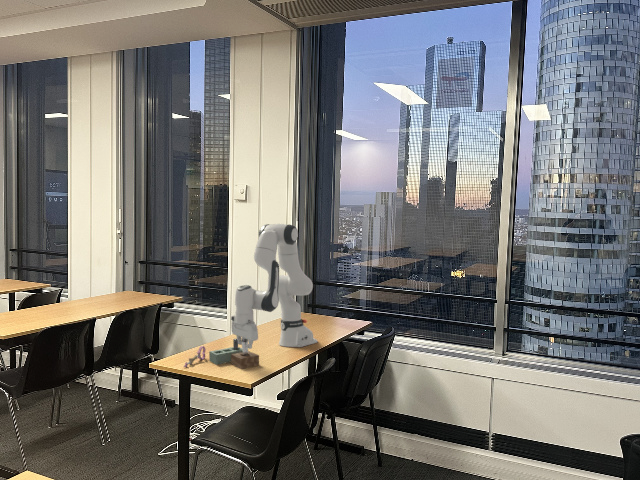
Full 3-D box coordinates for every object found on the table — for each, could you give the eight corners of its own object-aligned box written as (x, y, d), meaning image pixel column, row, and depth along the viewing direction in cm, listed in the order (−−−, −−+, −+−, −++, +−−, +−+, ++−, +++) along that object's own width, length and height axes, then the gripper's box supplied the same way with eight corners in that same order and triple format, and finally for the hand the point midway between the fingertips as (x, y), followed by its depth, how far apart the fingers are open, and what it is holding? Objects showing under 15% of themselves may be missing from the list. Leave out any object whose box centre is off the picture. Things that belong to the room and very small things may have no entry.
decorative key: (183, 374, 265) (204, 356, 283) (185, 374, 264) (206, 357, 283) (181, 361, 263) (202, 344, 282) (183, 361, 263) (205, 344, 281)
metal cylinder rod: (246, 363, 272) (245, 335, 271) (249, 364, 269) (249, 337, 268) (240, 364, 270) (240, 336, 269) (244, 366, 267) (243, 338, 266)
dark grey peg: (236, 357, 283) (236, 338, 282) (239, 358, 281) (238, 339, 280) (232, 358, 281) (232, 339, 281) (235, 359, 279) (234, 340, 279)
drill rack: (237, 355, 286) (237, 346, 286) (244, 359, 280) (244, 349, 279) (209, 361, 276) (209, 351, 276) (216, 364, 270) (216, 354, 270)
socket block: (248, 360, 277) (248, 351, 276) (259, 365, 269) (259, 355, 268) (231, 364, 270) (231, 354, 270) (241, 369, 263) (241, 358, 262)
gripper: (261, 321, 262) (261, 349, 263) (240, 314, 278) (240, 341, 279) (249, 323, 258) (250, 351, 259) (229, 316, 274) (229, 343, 275)
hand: (244, 346), depth 269 cm, fingers open, 8 cm apart
